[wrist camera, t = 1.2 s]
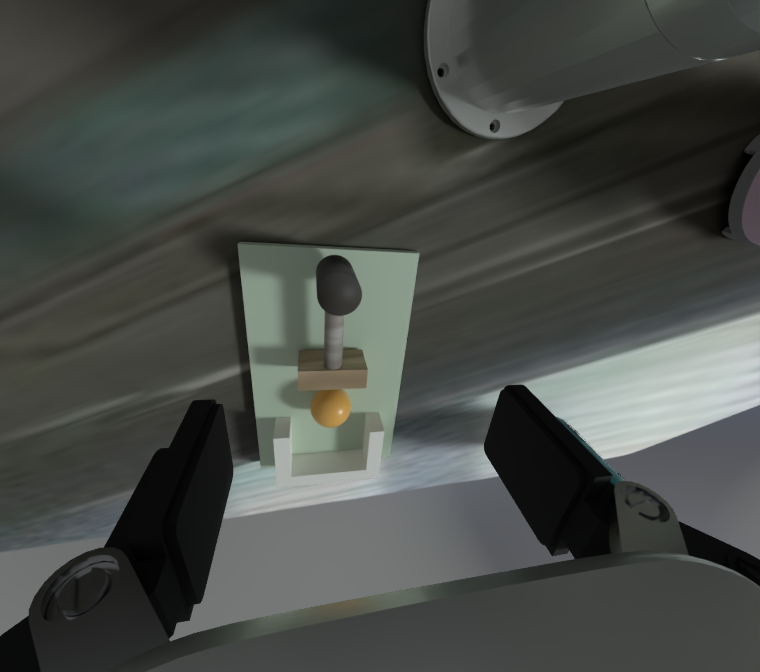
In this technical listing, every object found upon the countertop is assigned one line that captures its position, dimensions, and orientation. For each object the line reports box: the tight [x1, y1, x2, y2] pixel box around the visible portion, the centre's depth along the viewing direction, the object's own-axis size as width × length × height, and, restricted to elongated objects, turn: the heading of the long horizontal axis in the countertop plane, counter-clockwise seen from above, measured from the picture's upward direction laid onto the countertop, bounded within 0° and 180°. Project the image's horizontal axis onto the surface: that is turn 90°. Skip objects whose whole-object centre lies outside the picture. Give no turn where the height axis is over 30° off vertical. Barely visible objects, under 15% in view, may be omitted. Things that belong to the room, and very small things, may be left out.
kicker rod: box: [298, 255, 368, 391], centre depth 26 cm, size 12×6×7 cm, turn 175°
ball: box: [310, 389, 351, 428], centre depth 32 cm, size 4×4×4 cm
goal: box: [273, 412, 384, 488], centre depth 35 cm, size 7×11×3 cm, turn 85°
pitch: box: [238, 242, 419, 468], centre depth 33 cm, size 25×15×1 cm, turn 175°
